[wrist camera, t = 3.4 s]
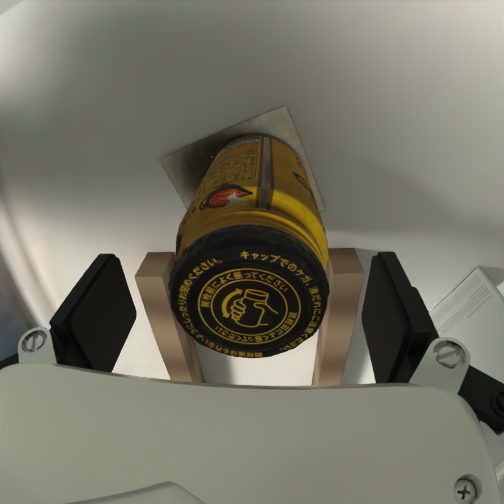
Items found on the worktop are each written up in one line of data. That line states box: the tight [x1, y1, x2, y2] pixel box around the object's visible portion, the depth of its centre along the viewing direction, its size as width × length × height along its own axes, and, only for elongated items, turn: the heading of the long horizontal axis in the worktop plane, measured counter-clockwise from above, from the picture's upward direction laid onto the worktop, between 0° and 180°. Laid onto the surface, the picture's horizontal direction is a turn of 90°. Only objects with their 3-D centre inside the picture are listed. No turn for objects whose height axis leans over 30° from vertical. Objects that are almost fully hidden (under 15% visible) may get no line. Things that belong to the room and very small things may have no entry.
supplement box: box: [429, 267, 504, 384], centre depth 20 cm, size 7×7×13 cm
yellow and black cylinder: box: [159, 106, 330, 358], centre depth 15 cm, size 7×8×12 cm
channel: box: [135, 248, 364, 386], centre depth 26 cm, size 18×15×3 cm
